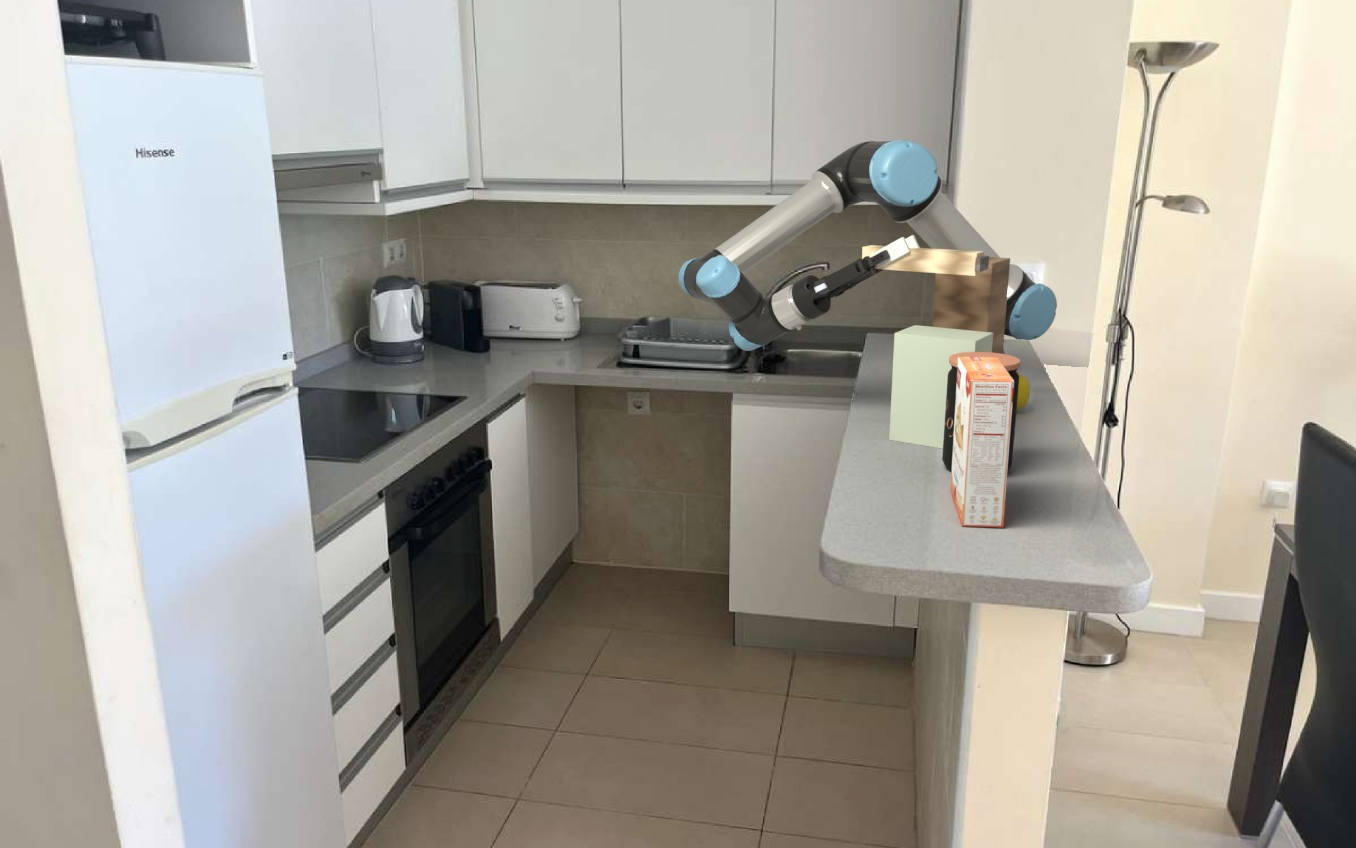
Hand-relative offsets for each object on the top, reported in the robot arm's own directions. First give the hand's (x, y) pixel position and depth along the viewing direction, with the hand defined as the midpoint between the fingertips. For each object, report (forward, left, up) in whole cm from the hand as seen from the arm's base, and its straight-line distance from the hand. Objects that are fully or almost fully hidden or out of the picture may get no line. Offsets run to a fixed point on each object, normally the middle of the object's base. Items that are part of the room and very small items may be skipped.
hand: (911, 243), depth 169 cm
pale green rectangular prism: (-1, +6, -34) cm, 34 cm away
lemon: (-27, +7, -34) cm, 44 cm away
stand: (-15, +3, -34) cm, 37 cm away
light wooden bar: (0, +2, -4) cm, 5 cm away
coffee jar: (+9, +19, -34) cm, 40 cm away
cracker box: (+26, +28, -34) cm, 51 cm away
